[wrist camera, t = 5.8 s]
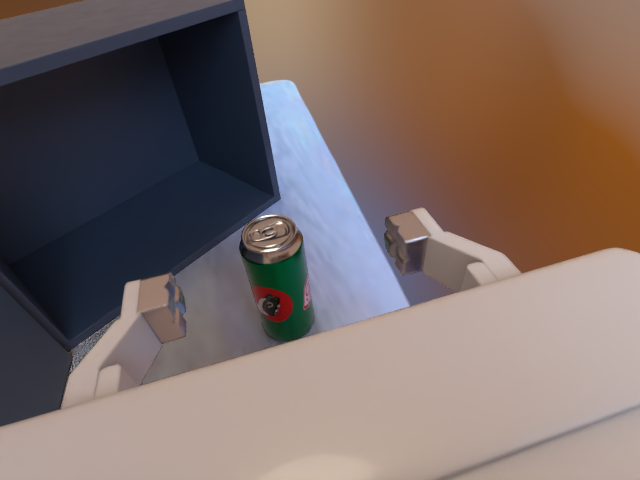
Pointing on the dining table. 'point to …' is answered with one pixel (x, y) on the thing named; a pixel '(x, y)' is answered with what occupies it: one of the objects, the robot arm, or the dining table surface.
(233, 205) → the cupboard
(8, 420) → the cupboard door
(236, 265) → the dining table surface
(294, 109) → the dining table surface
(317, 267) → the dining table surface
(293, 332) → the soda can
